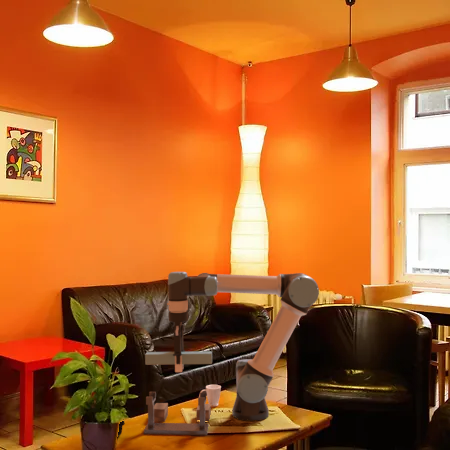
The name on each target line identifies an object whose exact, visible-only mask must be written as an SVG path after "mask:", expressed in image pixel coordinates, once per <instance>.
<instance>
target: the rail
mask: <svg viewBox="0 0 450 450" xmlns="http://www.w3.org/2000/svg"><path fill="white" fill-rule="evenodd" d="M181 353H182V364H183V365H211V364H213V351H210V350H209V351H201V350H200V351H185V352H181ZM173 354H174V351H147V352H146V353H145V354H144V355H145V356H144V360H145V362H144V363H145V365H147V366H148V365H151V366H152V365H153V366H154V365H159V366H161V365H175V356H173Z"/></svg>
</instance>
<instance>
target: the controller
mask: <svg viewBox="0 0 450 450" xmlns="http://www.w3.org/2000/svg"><path fill="white" fill-rule="evenodd" d="M125 424H126V423H125V420H124V421H122V422H120V424H119V432H118V436H117V437H120V436H121V435H122V433H123V426H125Z"/></svg>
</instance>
